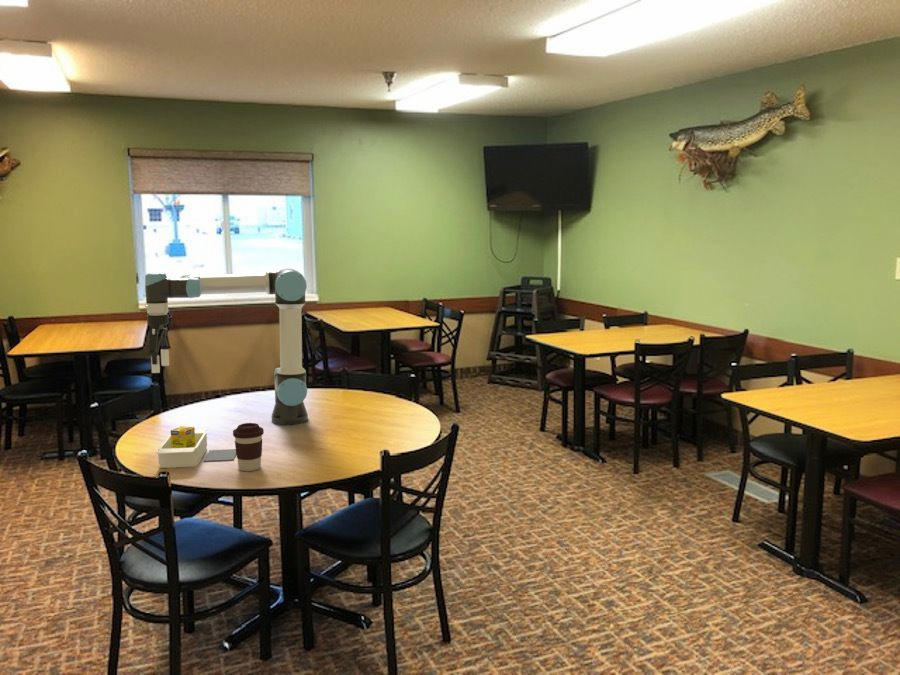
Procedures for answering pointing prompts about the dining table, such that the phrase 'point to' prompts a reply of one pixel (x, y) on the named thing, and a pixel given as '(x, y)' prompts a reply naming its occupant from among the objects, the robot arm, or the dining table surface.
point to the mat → (220, 455)
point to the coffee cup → (248, 446)
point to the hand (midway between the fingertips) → (160, 369)
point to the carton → (183, 452)
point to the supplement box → (183, 437)
